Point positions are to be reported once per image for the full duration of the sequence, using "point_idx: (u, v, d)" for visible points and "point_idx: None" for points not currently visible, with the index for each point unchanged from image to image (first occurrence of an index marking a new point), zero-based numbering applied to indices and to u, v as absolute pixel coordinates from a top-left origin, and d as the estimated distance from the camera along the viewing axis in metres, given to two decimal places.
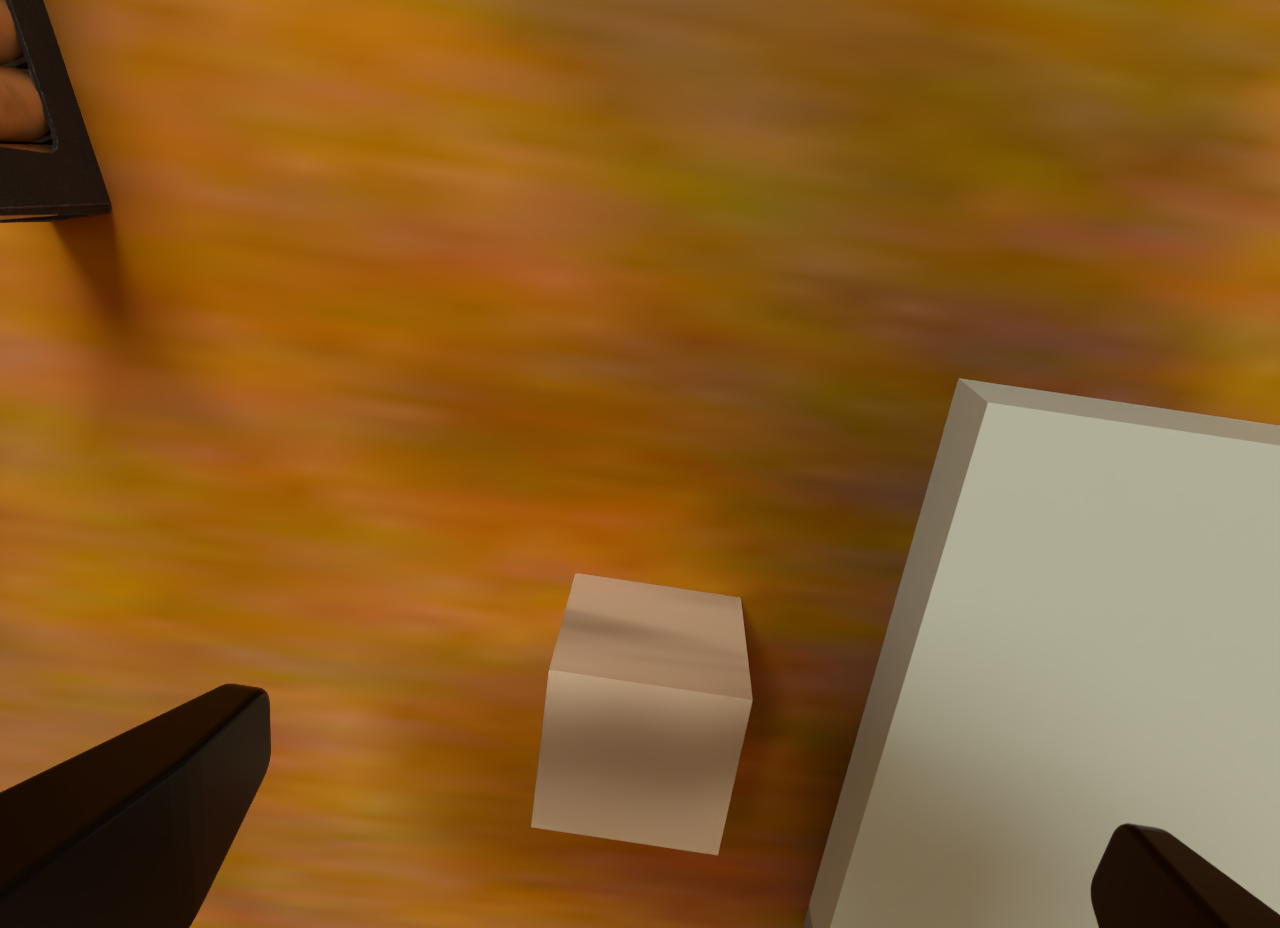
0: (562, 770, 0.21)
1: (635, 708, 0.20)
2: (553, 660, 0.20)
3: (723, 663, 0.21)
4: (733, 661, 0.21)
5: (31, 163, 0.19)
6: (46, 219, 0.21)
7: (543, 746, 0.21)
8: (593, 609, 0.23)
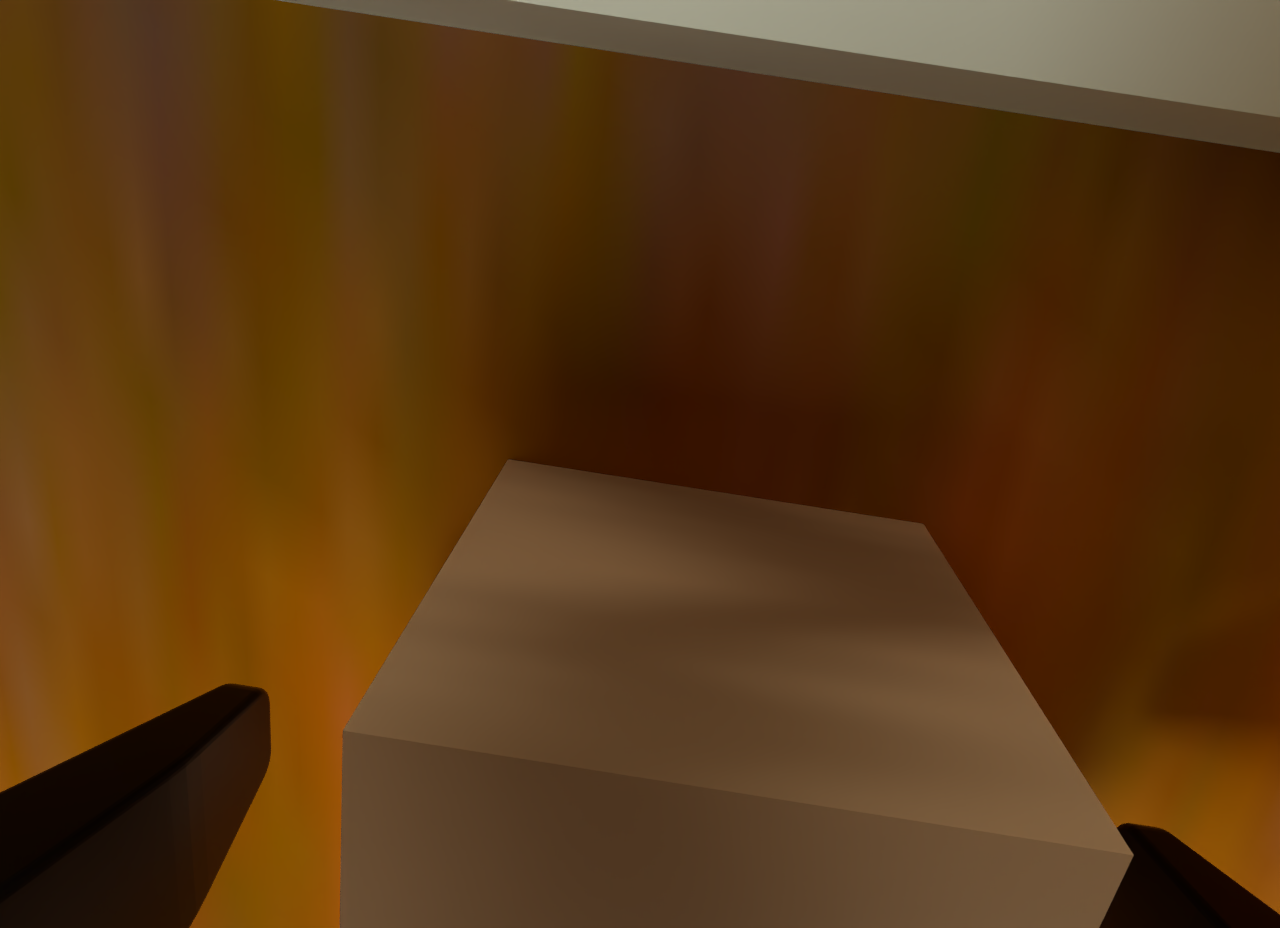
0: None
1: None
2: None
3: None
4: None
5: None
6: None
7: None
8: None
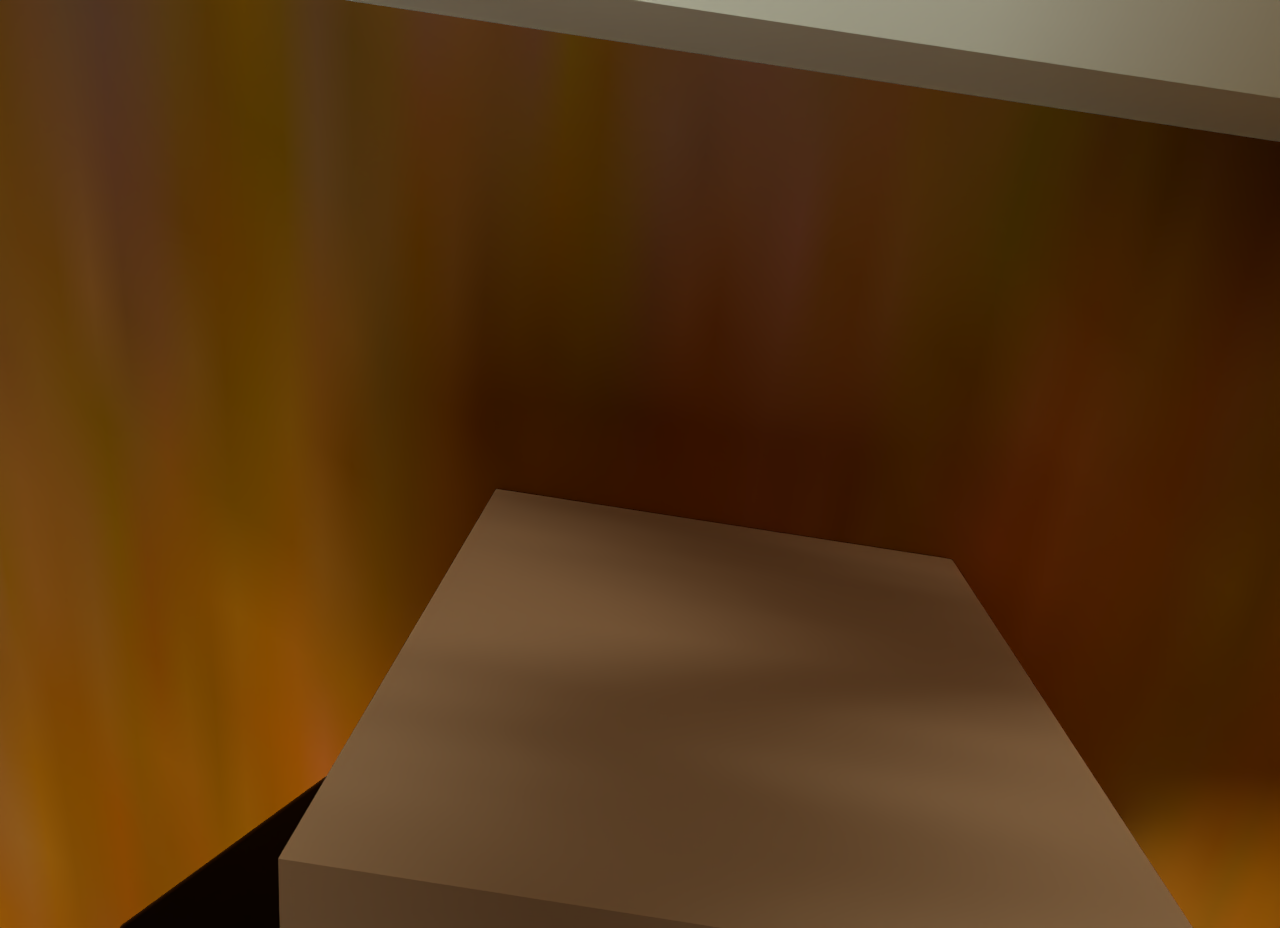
0: None
1: None
2: None
3: None
4: None
5: None
6: None
7: None
8: None
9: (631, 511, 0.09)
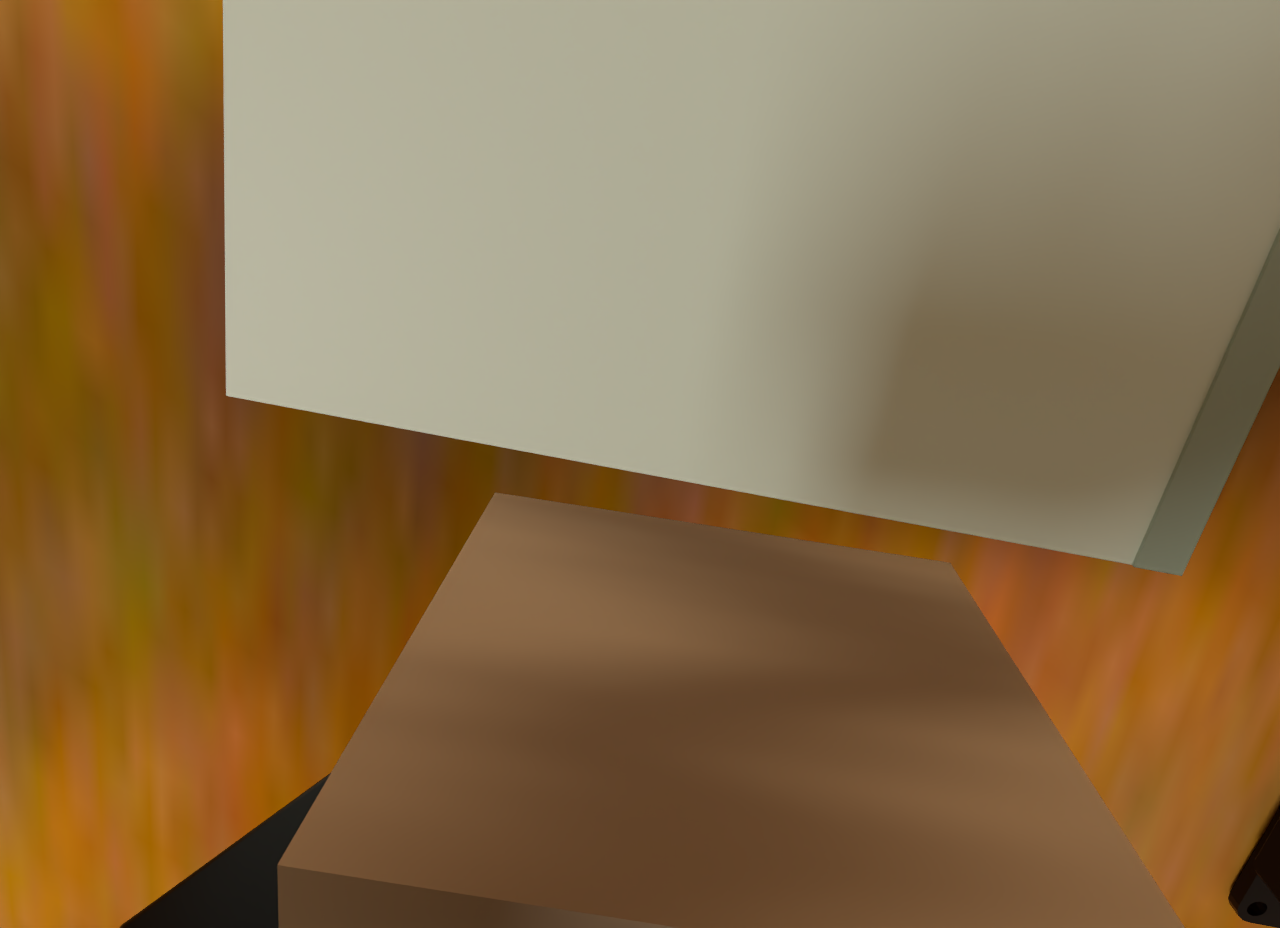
0: None
1: None
2: None
3: None
4: None
5: None
6: None
7: None
8: None
9: (630, 514, 0.09)
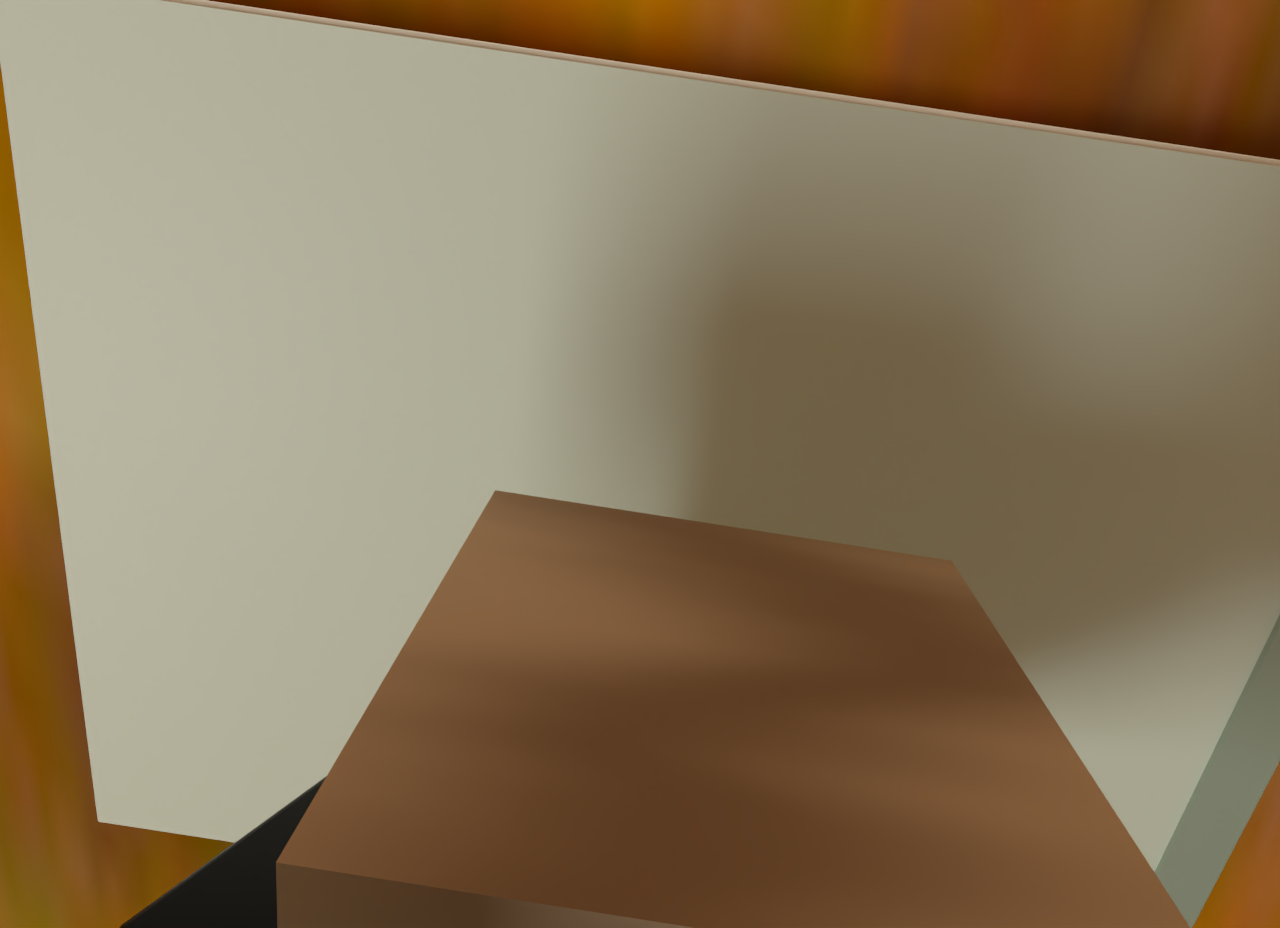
0: None
1: None
2: None
3: None
4: None
5: None
6: None
7: None
8: None
9: (631, 512, 0.09)
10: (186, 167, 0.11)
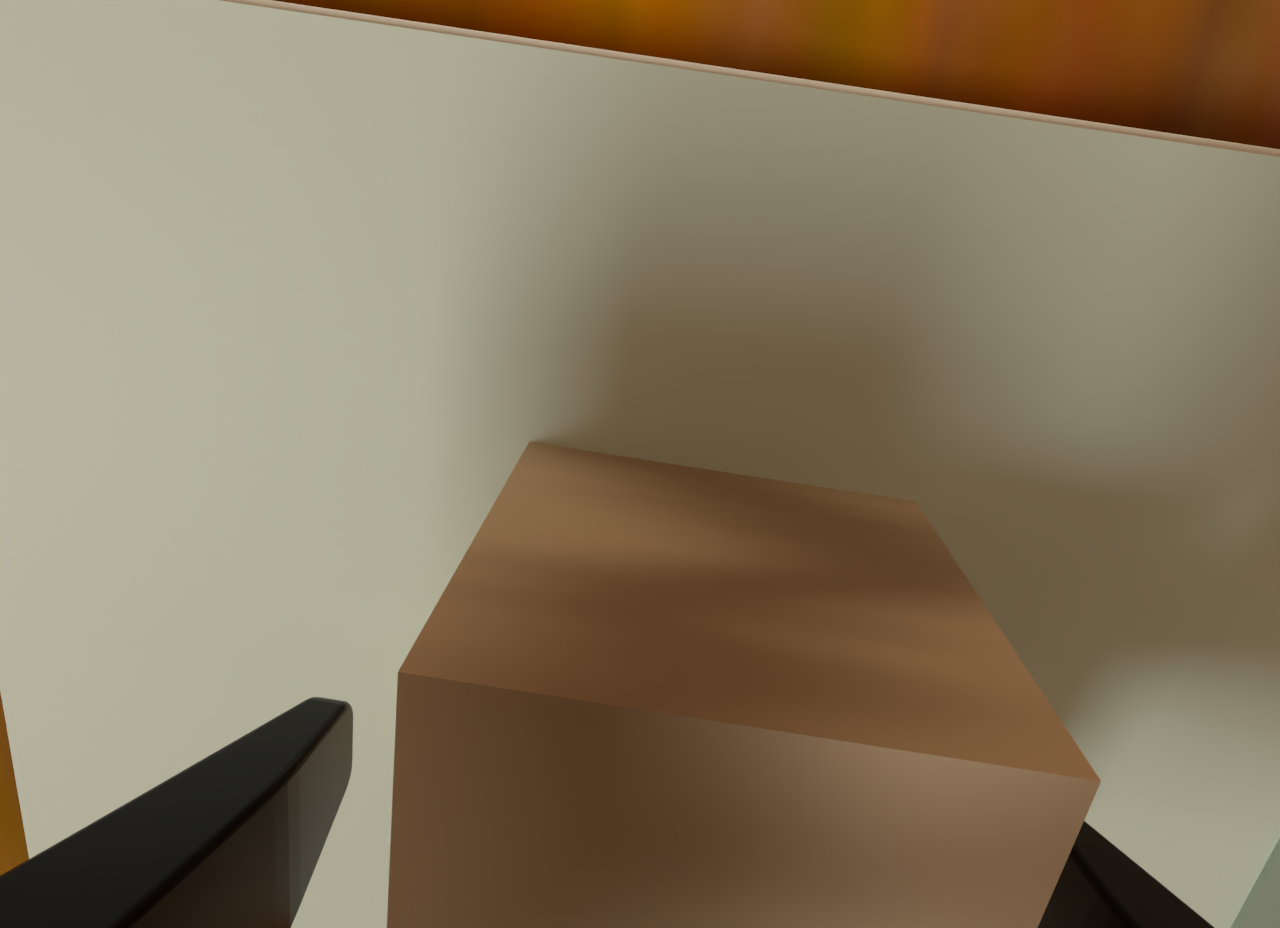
0: None
1: None
2: None
3: None
4: None
5: None
6: None
7: None
8: None
9: (644, 460, 0.10)
10: (111, 173, 0.10)
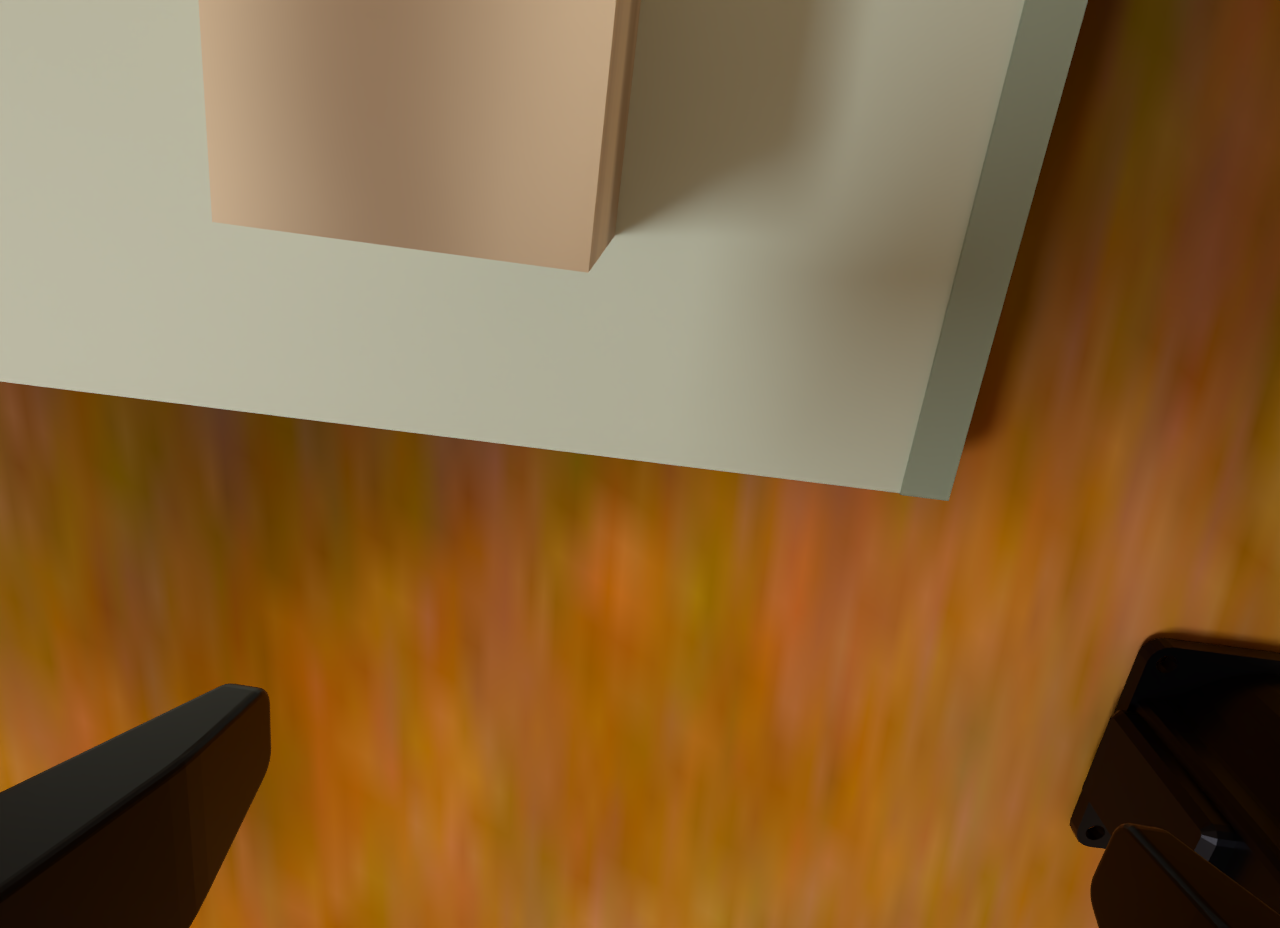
0: (438, 202, 0.11)
1: (261, 42, 0.10)
2: (227, 214, 0.11)
3: None
4: None
5: None
6: None
7: (386, 239, 0.11)
8: None
9: None
10: None
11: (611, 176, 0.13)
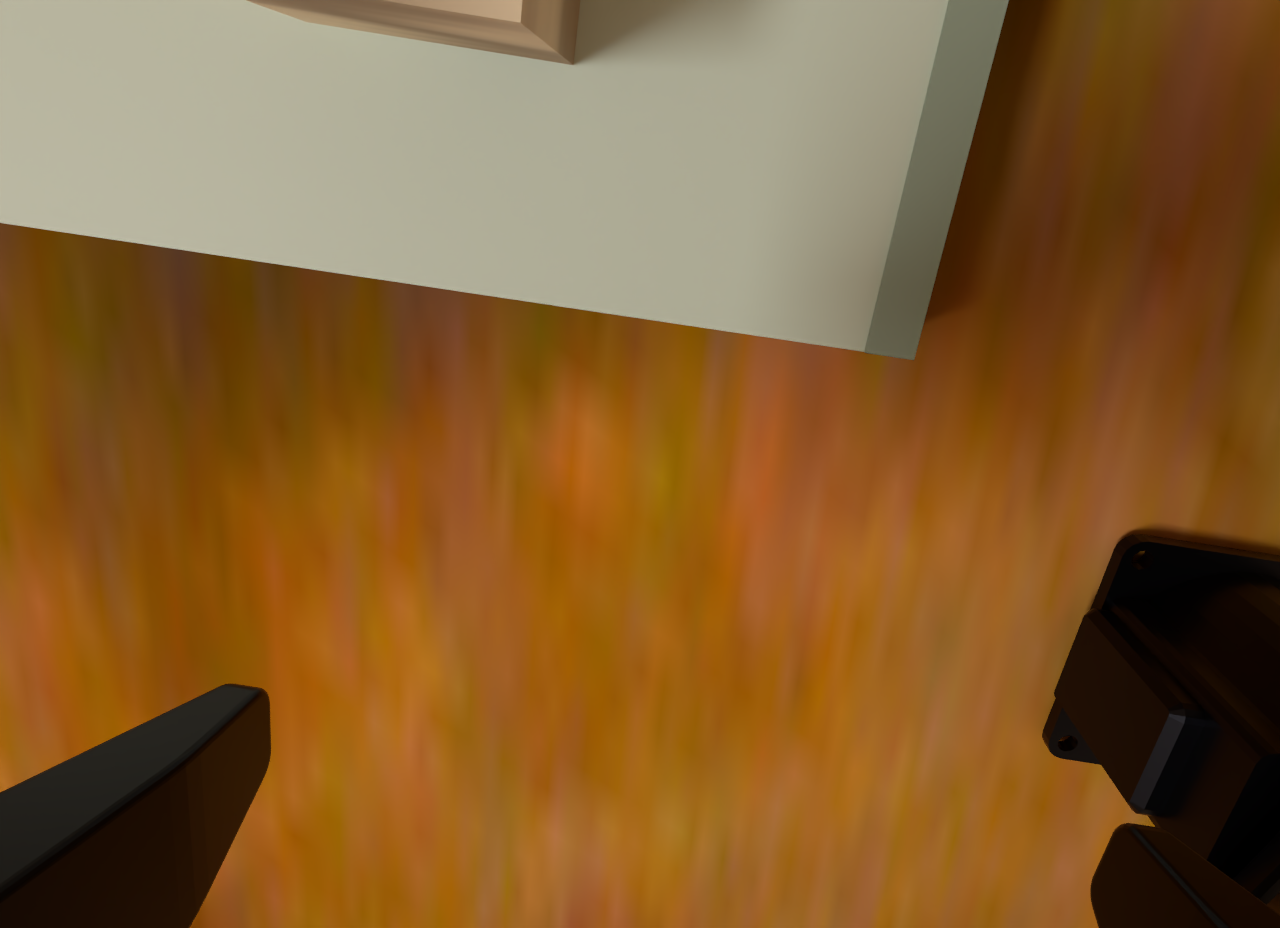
0: None
1: None
2: None
3: None
4: None
5: None
6: None
7: None
8: None
9: None
10: None
11: None
